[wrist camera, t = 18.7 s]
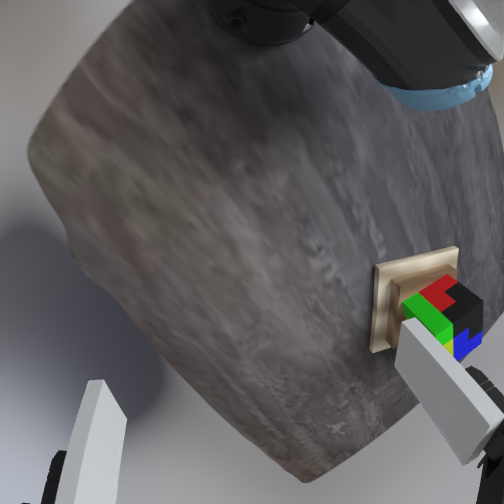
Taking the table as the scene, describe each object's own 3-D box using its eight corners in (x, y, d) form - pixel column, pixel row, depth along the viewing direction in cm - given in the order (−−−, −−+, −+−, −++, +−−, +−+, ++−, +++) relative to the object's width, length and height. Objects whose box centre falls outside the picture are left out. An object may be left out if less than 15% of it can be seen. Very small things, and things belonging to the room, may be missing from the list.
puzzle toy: (450, 314, 52) (481, 343, 43) (409, 341, 52) (437, 374, 43) (446, 273, 48) (483, 300, 39) (402, 301, 48) (435, 335, 39)
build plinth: (375, 264, 50) (388, 276, 46) (453, 245, 51) (468, 254, 47) (369, 348, 57) (379, 362, 53) (441, 324, 58) (452, 335, 54)
